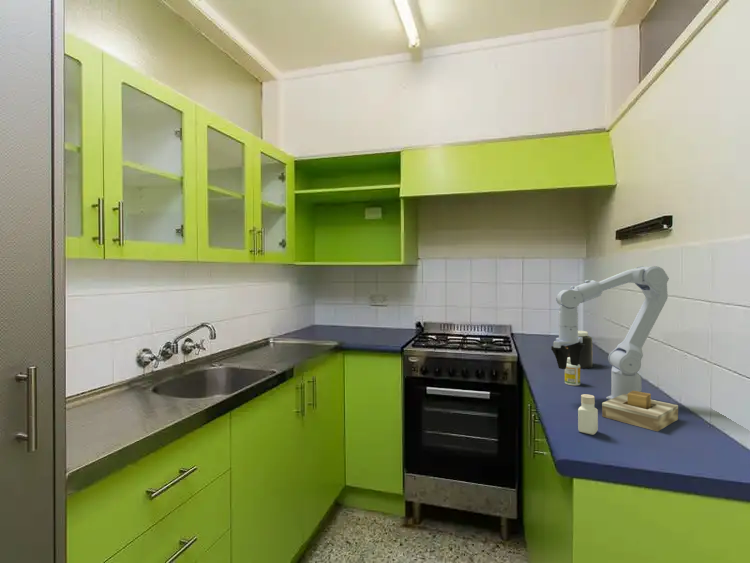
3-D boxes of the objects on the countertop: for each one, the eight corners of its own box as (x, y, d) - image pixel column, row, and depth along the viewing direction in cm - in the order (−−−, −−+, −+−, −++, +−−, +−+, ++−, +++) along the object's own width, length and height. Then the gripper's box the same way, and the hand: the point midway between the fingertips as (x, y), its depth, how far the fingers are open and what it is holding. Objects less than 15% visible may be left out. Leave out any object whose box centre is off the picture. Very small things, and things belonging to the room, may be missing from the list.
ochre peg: (632, 414, 119) (632, 390, 119) (650, 418, 116) (650, 393, 116) (627, 418, 116) (627, 393, 116) (645, 422, 113) (645, 397, 113)
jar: (585, 370, 171) (584, 334, 171) (557, 365, 180) (557, 331, 180) (597, 365, 179) (596, 331, 178) (570, 361, 188) (570, 329, 187)
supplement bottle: (569, 386, 149) (569, 360, 148) (561, 382, 154) (561, 357, 154) (583, 385, 149) (583, 359, 149) (575, 381, 155) (574, 356, 154)
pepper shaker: (598, 431, 107) (598, 395, 107) (594, 436, 104) (594, 399, 104) (581, 427, 110) (581, 392, 110) (577, 432, 107) (577, 396, 107)
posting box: (624, 406, 126) (624, 393, 126) (678, 419, 115) (678, 405, 114) (602, 416, 118) (602, 402, 118) (657, 431, 106) (657, 416, 106)
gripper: (568, 322, 142) (568, 361, 142) (544, 326, 134) (544, 368, 134) (588, 324, 136) (588, 365, 137) (565, 329, 128) (565, 372, 128)
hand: (568, 366), depth 135 cm, fingers open, 7 cm apart
